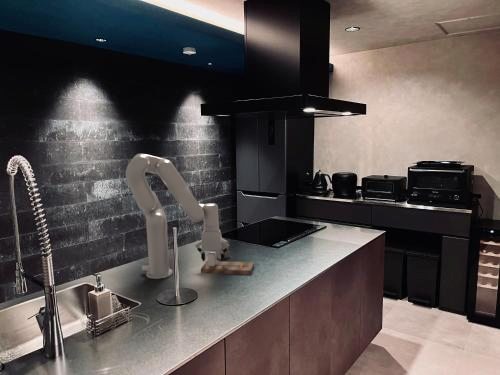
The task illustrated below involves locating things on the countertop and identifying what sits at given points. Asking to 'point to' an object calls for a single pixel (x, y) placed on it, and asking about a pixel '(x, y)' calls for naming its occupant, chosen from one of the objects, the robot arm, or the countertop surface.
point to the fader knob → (212, 259)
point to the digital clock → (218, 253)
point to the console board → (228, 268)
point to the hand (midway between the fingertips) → (213, 260)
